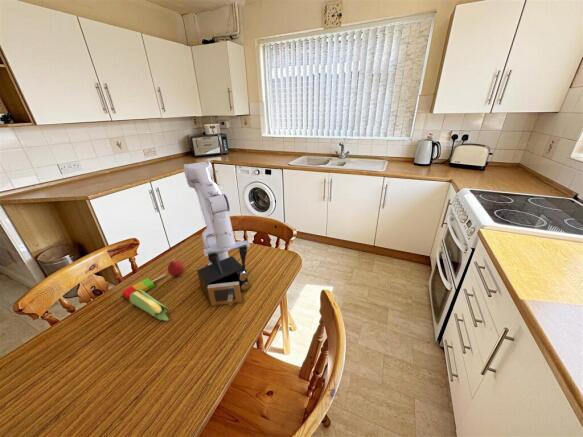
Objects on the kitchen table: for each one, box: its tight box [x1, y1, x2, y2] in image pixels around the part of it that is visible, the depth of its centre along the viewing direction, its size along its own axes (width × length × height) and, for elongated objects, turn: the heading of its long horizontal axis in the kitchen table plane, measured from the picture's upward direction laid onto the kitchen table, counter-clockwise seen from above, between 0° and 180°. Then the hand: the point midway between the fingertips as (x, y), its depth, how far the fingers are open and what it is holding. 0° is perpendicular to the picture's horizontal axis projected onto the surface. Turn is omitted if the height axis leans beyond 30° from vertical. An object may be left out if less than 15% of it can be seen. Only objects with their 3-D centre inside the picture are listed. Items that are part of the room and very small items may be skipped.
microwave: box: [196, 255, 250, 301], centre depth 87 cm, size 12×14×8 cm
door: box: [207, 281, 243, 307], centre depth 78 cm, size 6×10×8 cm, turn 98°
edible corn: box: [128, 290, 171, 322], centre depth 79 cm, size 5×20×5 cm, turn 59°
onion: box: [167, 258, 185, 277], centre depth 94 cm, size 6×6×8 cm
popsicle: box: [122, 273, 167, 301], centre depth 91 cm, size 6×15×2 cm, turn 143°
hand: (232, 271), depth 79 cm, fingers open, 7 cm apart
